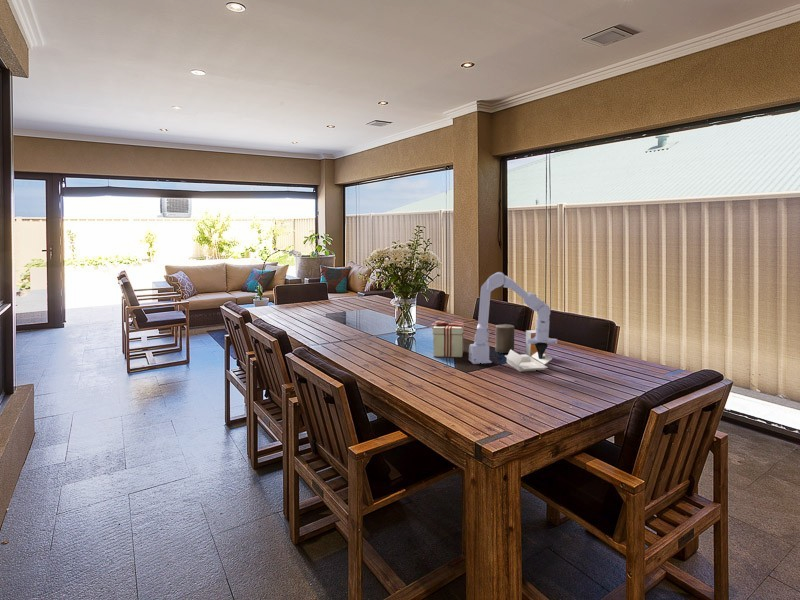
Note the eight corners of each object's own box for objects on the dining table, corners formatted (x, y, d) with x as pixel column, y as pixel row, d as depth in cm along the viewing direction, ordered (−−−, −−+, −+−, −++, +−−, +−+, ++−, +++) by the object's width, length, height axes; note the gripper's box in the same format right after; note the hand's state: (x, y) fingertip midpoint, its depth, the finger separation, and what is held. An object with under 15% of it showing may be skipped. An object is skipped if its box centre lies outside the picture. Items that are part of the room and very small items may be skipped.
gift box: (463, 349, 254) (463, 317, 251) (464, 358, 235) (464, 324, 233) (431, 348, 255) (431, 317, 253) (430, 357, 237) (430, 324, 235)
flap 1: (518, 366, 211) (518, 365, 211) (507, 358, 225) (506, 357, 225) (523, 356, 211) (522, 356, 211) (510, 349, 225) (510, 349, 225)
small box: (530, 358, 232) (530, 332, 231) (525, 355, 239) (525, 330, 237) (545, 357, 233) (546, 332, 232) (540, 354, 240) (540, 329, 238)
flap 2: (552, 358, 213) (552, 358, 214) (538, 350, 227) (538, 351, 227) (544, 363, 213) (544, 364, 213) (531, 356, 227) (531, 356, 227)
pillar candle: (515, 353, 242) (516, 325, 240) (496, 353, 242) (497, 325, 240) (511, 349, 252) (512, 321, 250) (493, 349, 252) (494, 321, 250)
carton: (523, 374, 207) (523, 368, 207) (503, 360, 230) (503, 355, 229) (548, 372, 209) (548, 367, 209) (526, 359, 232) (526, 354, 231)
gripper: (531, 332, 213) (529, 361, 215) (561, 331, 215) (559, 360, 217) (524, 328, 220) (523, 357, 222) (554, 328, 222) (552, 356, 224)
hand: (540, 358), depth 220 cm, fingers closed, pressing on flap 2
